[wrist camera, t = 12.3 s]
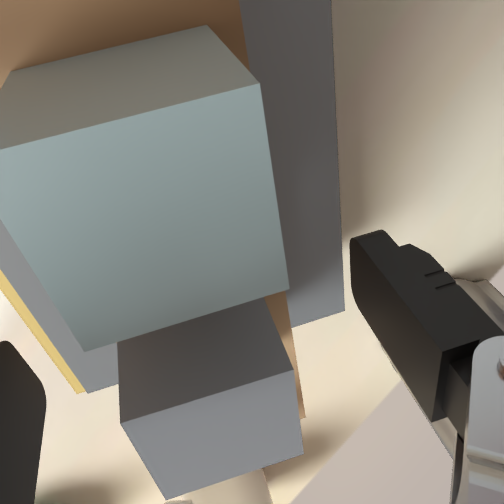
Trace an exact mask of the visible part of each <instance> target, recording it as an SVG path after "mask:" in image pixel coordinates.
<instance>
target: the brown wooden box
mask: <svg viewBox="0 0 504 504" xmlns="http://www.w3.org/2000/svg"><path fill="white" fill-rule="evenodd" d="M203 25H208V26H209V28H210V29H211V30H212V31H213V32H214V33H215V34H216V35H217V36H218V38H219V39H220V40H221V41H222V42H223V43H224V44H225V45H226V46H227V47H228V49H229V50H230V51H231V52H232V53H233V54H234V55H235V56H236V57H237V59H238V60H239V61H240V62H241V63H242V64H243V65H244V66H245V67H246V68H247V70H248V71H249V72H250V68H249V62H248V55H247V49H246V43H245V37H244V31H243V24H242V18H241V12H240V6H239V0H0V89H1V88H2V86H3V84H4V82H5V80H6V78H7V77H8V75H9V73H10V72H11V71H15V70H19V69H23V68H27V67H32V66H36V65H40V64H44V63H48V62H53V61H57V60H61V59H65V58H69V57H73V56H78V55H82V54H86V53H90V52H94V51H99V50H103V49H107V48H111V47H115V46H119V45H124V44H128V43H132V42H136V41H140V40H145V39H149V38H153V37H157V36H161V35H165V34H170V33H174V32H178V31H182V30H186V29H191V28H195V27H199V26H203ZM264 299H265V302H266V304H267V307H268V309H269V311H270V314H271V316H272V319H273V321H274V323H275V326H276V328H277V331H278V333H279V335H280V338H281V340H282V342H283V345H284V347H285V350H286V352H287V354H288V357H289V359H290V362H291V364H292V366H293V369H294V375H295V384H296V392H297V401H298V409H299V418H300V419H302V418H305V417H306V416H305V410H304V404H303V398H302V392H301V385H300V379H299V373H298V367H297V360H296V354H295V348H294V342H293V336H292V329H291V323H290V317H289V311H288V304H287V298H286V292H285V290H284V291H281V292H278V293H275V294H271V295H268V296H265V297H264ZM116 343H117V342H116Z"/></svg>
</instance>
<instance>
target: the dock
mask: <svg viewBox="0 0 504 504" xmlns="http://www.w3.org/2000/svg"><path fill="white" fill-rule="evenodd" d="M239 6H240V12H241V18H242V24H243V31H244V37H245V43H246V49H247V55H248V62H249V68H250V73H251V74H252V75H253V76H254V77H255V78H256V80H257V81H258V82H259V83H260V88H261V95H262V102H263V109H264V116H265V123H266V129H267V136H268V143H269V150H270V157H271V164H272V171H273V178H274V184H275V191H276V198H277V205H278V212H279V219H280V226H281V233H282V239H283V246H284V253H285V260H286V267H287V274H288V281H289V288H290V289H288V290H285V292H286V298H287V304H288V311H289V317H290V323H291V328H293V327H296V326H299V325H302V324H305V323H308V322H311V321H315V320H318V319H321V318H324V317H327V316H330V315H333V314H336V313H339V312H342V311H345V303H344V281H343V259H342V237H341V214H340V192H339V170H338V147H337V125H336V103H335V80H334V58H333V36H332V14H331V0H239ZM0 290H1V291H2V292H3V294H4V295H5V296H6V298H7V299H8V300H9V302H10V303H11V305H12V306H13V307H14V309H15V310H16V311H17V313H18V314H19V316H20V317H21V318H22V320H23V321H24V322H25V324H26V325H27V327H28V328H29V329H30V331H31V332H32V333H33V335H34V336H35V337H36V339H37V340H38V342H39V343H40V344H41V346H42V347H43V348H44V350H45V351H46V353H47V354H48V355H49V357H50V358H51V359H52V361H53V362H54V363H55V365H56V366H57V368H58V369H59V370H60V372H61V373H62V374H63V376H64V377H65V379H66V380H67V381H68V383H69V384H70V385H71V387H72V388H73V389H74V391H75V392H76V394H79V393H82V392H85V391H86V392H87V393H91V392H94V391H97V390H101V389H104V388H107V387H110V386H113V385H116V384H119V379H118V354H117V343H113V344H110V345H106V346H103V347H100V348H97V349H93V350H90V351H87V352H84V350H83V349H82V347H81V346H80V344H79V343H78V341H77V339H76V338H75V336H74V335H73V333H72V332H71V330H70V328H69V327H68V325H67V324H66V322H65V320H64V319H63V317H62V316H61V314H60V313H59V311H58V309H57V308H56V306H55V305H54V303H53V301H52V300H51V298H50V297H49V295H48V294H47V292H46V290H45V289H44V287H43V286H42V284H41V283H40V281H39V279H38V278H37V276H36V275H35V273H34V271H33V270H32V268H31V267H30V265H29V264H28V262H27V260H26V259H25V257H24V256H23V254H22V252H21V251H20V249H19V248H18V246H17V245H16V243H15V241H14V240H13V238H12V237H11V235H10V234H9V232H8V230H7V229H6V227H5V226H4V224H3V222H2V221H1V219H0Z"/></svg>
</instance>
